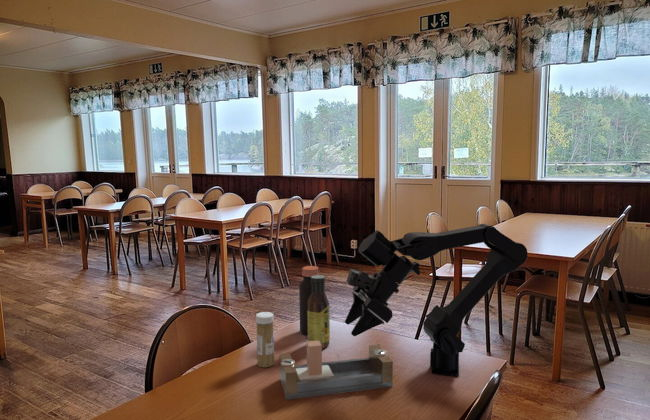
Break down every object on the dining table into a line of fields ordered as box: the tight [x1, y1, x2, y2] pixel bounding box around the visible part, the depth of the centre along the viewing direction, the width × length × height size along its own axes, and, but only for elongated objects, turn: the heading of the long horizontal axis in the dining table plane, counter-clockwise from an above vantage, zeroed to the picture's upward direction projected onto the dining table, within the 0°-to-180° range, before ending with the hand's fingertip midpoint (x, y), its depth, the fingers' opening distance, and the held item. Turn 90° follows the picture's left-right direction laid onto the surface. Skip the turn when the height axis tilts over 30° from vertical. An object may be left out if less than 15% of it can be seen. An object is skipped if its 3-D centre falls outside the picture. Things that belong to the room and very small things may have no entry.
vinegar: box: [298, 265, 320, 337], centre depth 145 cm, size 7×7×20 cm
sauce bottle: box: [307, 275, 331, 349], centre depth 135 cm, size 7×6×20 cm
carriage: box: [296, 340, 334, 382], centre depth 112 cm, size 8×6×9 cm
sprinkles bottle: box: [255, 311, 275, 368], centre depth 124 cm, size 5×5×13 cm
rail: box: [279, 344, 394, 401], centre depth 114 cm, size 26×10×7 cm, turn 103°
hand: (349, 329), depth 114 cm, fingers open, 9 cm apart
